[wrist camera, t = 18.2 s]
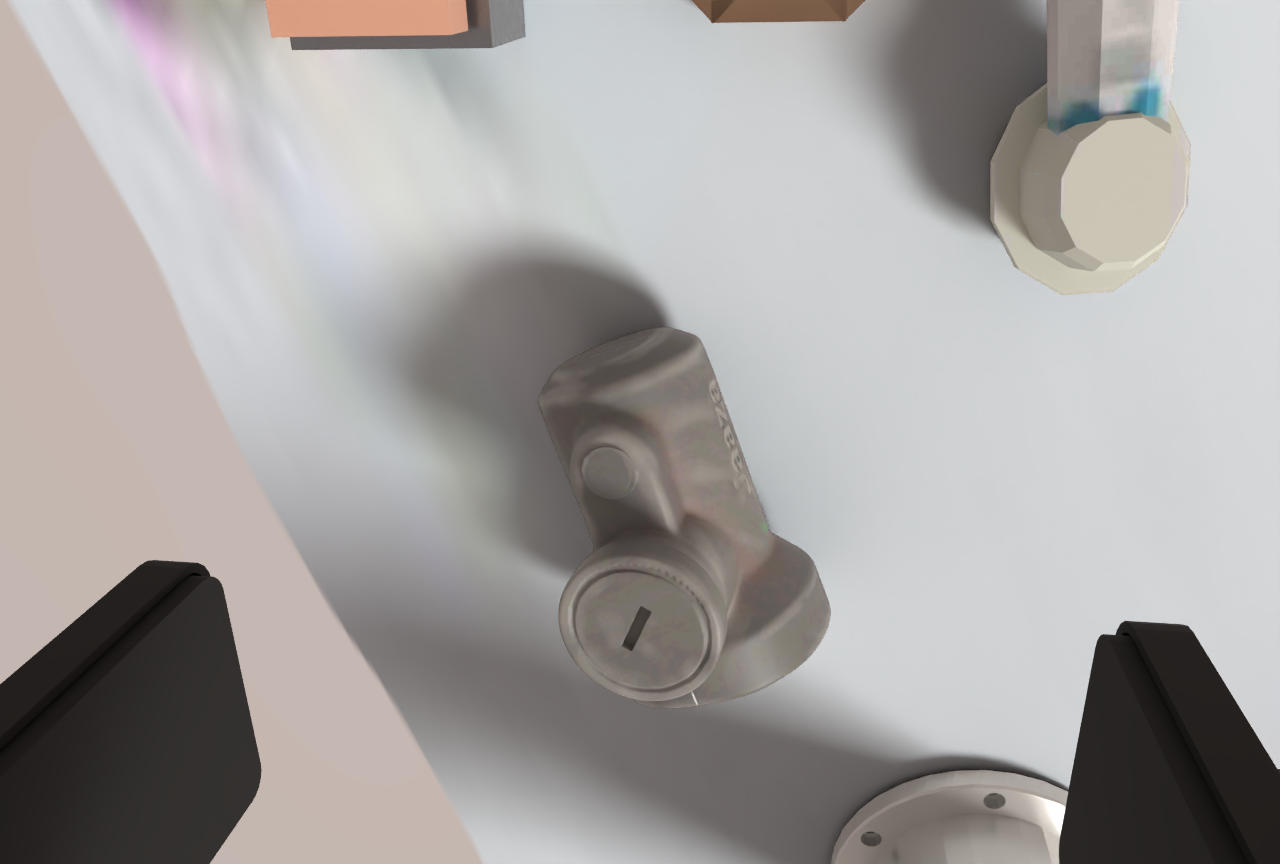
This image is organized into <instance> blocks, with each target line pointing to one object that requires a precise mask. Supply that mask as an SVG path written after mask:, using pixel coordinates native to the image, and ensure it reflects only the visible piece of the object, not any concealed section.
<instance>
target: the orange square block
mask: <svg viewBox="0 0 1280 864" xmlns="http://www.w3.org/2000/svg"><path fill="white" fill-rule="evenodd" d="M265 1H266V7H267V13H268V19H269V25H270V31H271V37H326V36H413V35H453V34H457V33H461V32H465V31H468V22H467V10H466V0H265Z"/></svg>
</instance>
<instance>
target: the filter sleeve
mask: <svg viewBox="0 0 1280 864" xmlns="http://www.w3.org/2000/svg"><path fill="white" fill-rule="evenodd" d="M692 1H693V2H694V3H695V4H696V5H697V6H698V8H699V9H700V10H701V11H702V12H703V13H704V14H705V15H706V16H707V17H708V18H709V19H710V20H711V23H723V22H801V21H843V22H844V21H846V19H847V18H848V17H849V16H850V15H851V14H852V13H853V12H854V11H855V10H856V9H857V8H858V7H859V6H860V5H861V4H862V3H863V2H864V1H865V0H692Z"/></svg>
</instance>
